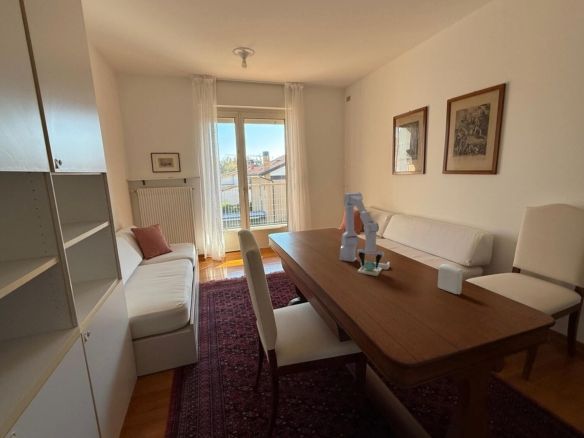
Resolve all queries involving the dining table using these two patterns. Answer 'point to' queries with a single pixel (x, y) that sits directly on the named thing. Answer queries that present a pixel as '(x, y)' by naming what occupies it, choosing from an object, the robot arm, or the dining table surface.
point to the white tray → (373, 272)
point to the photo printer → (450, 278)
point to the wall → (379, 265)
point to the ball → (369, 265)
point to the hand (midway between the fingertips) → (369, 266)
